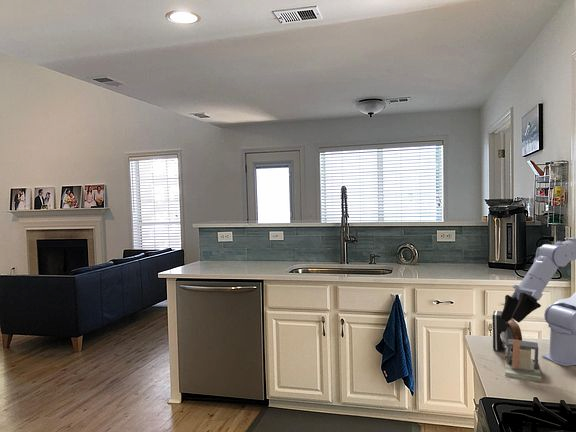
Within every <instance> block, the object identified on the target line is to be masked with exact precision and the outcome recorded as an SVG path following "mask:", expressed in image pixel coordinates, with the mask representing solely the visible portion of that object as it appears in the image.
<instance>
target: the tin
mask: <svg viewBox="0 0 576 432" xmlns="http://www.w3.org/2000/svg"><path fill="white" fill-rule="evenodd" d="M500 336H501V339H502V341H503V343H504V344H505V346H507V347H508V339H515V340H521V341H523V335H522V330H521V327H520V325H519V324H518V322H517V321H515V320H514V319H511V320H510V321H508V322H507V330H506V332H502V333H501V334H500ZM511 350H512V352H513V346H510V351H511Z"/></svg>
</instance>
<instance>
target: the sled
mask: <svg viewBox="0 0 576 432" xmlns="http://www.w3.org/2000/svg"><path fill="white" fill-rule="evenodd" d="M512 356H513V357H511V367H512V369H517V370H523V371H529V372H534V365H533V360H534V359H533V360H531V359H532V349H527V348H520V340H515V339H513V351H512Z"/></svg>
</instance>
